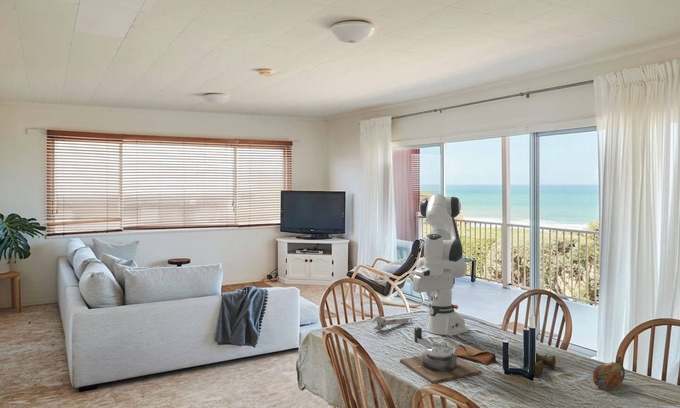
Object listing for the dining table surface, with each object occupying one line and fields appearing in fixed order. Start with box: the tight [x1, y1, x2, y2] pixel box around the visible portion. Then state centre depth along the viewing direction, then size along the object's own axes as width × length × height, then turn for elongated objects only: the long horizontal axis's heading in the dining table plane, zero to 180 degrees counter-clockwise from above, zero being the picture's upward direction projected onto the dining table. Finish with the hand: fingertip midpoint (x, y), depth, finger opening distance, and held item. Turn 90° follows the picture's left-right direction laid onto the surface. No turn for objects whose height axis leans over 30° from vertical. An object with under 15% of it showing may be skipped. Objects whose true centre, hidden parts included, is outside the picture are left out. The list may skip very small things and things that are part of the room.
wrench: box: [371, 315, 413, 332], centre depth 254 cm, size 8×2×30 cm
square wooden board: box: [399, 351, 482, 384], centre depth 199 cm, size 24×24×5 cm
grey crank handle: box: [413, 327, 454, 360], centre depth 205 cm, size 23×11×7 cm, turn 24°
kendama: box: [534, 352, 557, 378], centre depth 198 cm, size 6×10×20 cm
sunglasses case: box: [453, 344, 497, 366], centre depth 210 cm, size 18×7×7 cm, turn 51°
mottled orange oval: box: [592, 361, 626, 390], centre depth 182 cm, size 15×3×8 cm, turn 114°
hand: (433, 300), depth 216 cm, fingers closed
